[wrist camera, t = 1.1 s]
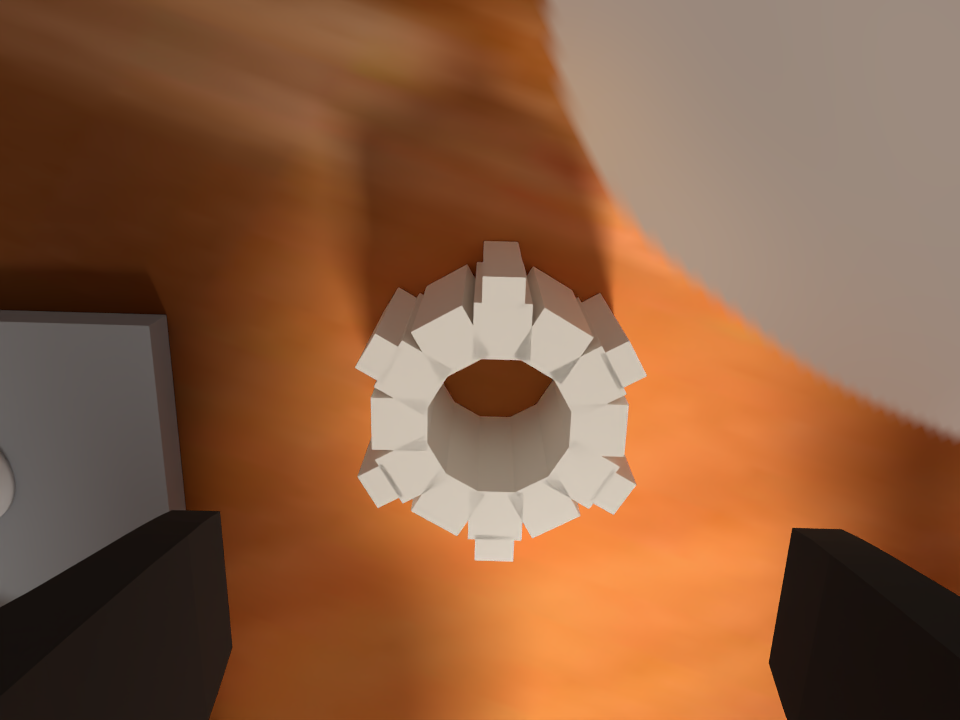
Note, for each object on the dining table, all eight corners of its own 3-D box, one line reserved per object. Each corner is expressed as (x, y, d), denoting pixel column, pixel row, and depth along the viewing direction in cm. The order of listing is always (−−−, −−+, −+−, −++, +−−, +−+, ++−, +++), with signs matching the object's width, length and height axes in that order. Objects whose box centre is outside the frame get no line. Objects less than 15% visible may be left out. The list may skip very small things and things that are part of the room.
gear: (601, 477, 20) (628, 564, 16) (383, 471, 20) (359, 557, 16) (620, 244, 18) (656, 281, 14) (381, 238, 18) (352, 273, 14)
